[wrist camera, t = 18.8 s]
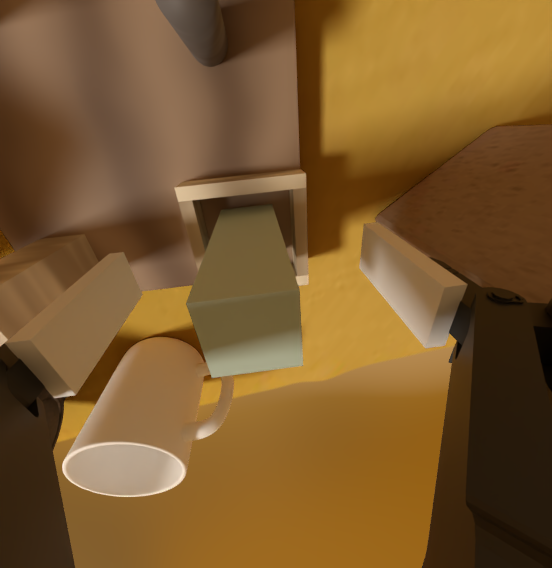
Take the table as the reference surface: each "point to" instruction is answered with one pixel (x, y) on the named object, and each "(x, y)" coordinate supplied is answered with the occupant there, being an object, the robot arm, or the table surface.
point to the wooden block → (487, 212)
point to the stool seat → (141, 138)
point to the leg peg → (247, 296)
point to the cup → (145, 422)
